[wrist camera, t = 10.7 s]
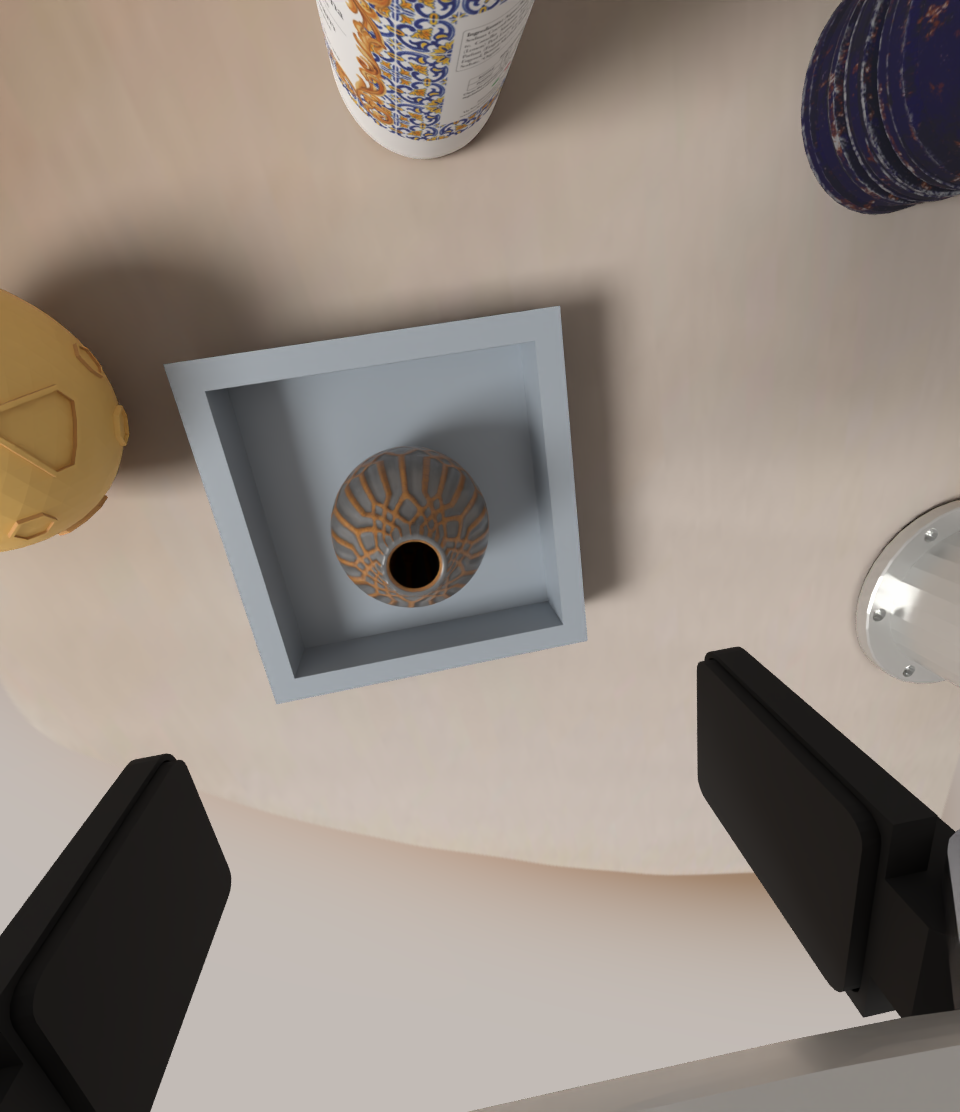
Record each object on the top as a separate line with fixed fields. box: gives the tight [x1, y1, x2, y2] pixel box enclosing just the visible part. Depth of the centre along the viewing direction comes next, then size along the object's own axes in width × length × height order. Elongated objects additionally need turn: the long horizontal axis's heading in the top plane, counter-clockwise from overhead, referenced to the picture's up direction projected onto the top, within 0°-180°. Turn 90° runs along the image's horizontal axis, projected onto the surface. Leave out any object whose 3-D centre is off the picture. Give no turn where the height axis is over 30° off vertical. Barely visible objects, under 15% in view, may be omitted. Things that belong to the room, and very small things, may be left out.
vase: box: [331, 446, 489, 608], centre depth 23 cm, size 7×7×9 cm
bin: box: [163, 306, 587, 704], centre depth 26 cm, size 16×16×4 cm
